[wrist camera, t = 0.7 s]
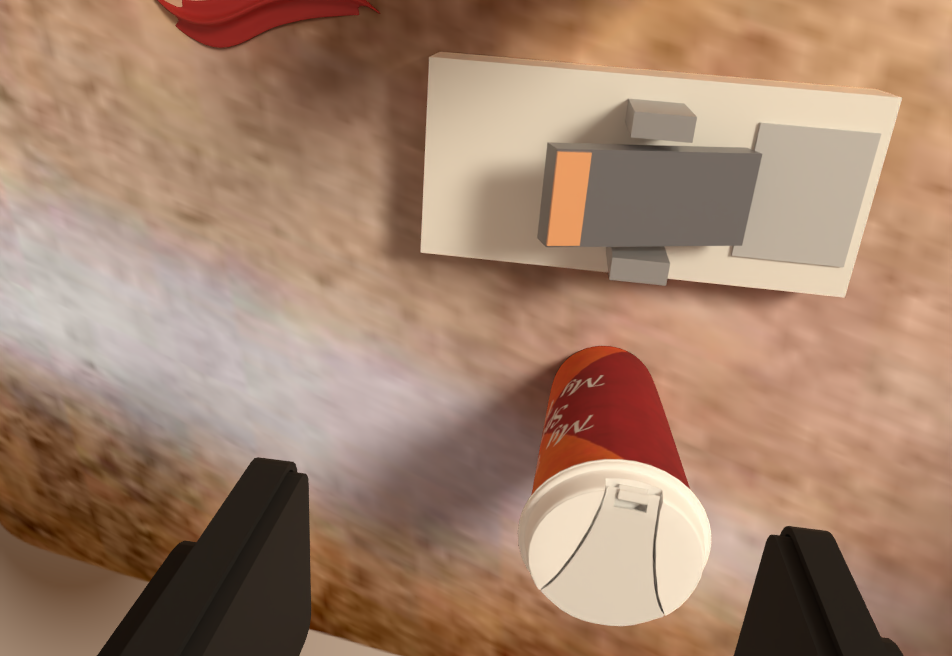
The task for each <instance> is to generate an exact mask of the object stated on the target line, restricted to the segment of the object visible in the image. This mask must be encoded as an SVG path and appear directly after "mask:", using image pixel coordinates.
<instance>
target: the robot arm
mask: <svg viewBox="0 0 952 656" xmlns="http://www.w3.org/2000/svg"><path fill="white" fill-rule="evenodd" d="M310 619H311V583H310V532H309V483H308V476H307V475H306V474H304V473H297V467H296V464H295V463H294V462H289V461H282V460H274V459H266V458H258V457H257V458H254V460H253V461H252V462H251V463H250V465H249V466H248V467H247V469H246V470H245V472H244V473H243V475H242V476H241V478H240V479H239V481H238V482H237V484H236V485H235V487H234V488H233V490H232V491H231V493H230V494H229V495H228V497H227V498H226V500H225V501H224V503H223V504H222V506H221V507H220V509H219V510H218V512H217V513H216V515H215V516H214V518H213V519H212V521H211V522H210V523H209V525H208V526H207V528H206V529H205V531H204V532H203V534H202V535H201V537H200V538H199V540H198V541H197V542H190V541H183V542H181V543H179V544H178V545H177V546H176V547H175V548H174V549H173V550H172V551H171V553H170V554H169V555H168V557H167V558H166V560H165V561H164V562H163V564H162V565H161V567H160V568H159V569H158V571H157V572H156V574H155V575H154V576H153V578H152V579H151V581H150V582H149V583H148V585H147V586H146V588H145V589H144V591H143V592H142V593H141V595H140V596H139V598H138V599H137V600H136V602H135V603H134V605H133V606H132V607H131V609H130V610H129V612H128V613H127V614H126V616H125V617H124V619H123V620H122V621H121V623H120V624H119V626H118V627H117V628H116V630H115V631H114V633H113V634H112V635H111V637H110V638H109V640H108V641H107V642H106V644H105V645H104V647H103V648H102V649H101V651H100V652H99V654H98V655H97V656H299V655H300V652H301V650H302V647H303V645H304V643H305V640H306V637H307V634H308V630H309V626H310ZM734 656H903V654H902V652H901V651H900V649H899V648H898V646H897V645H896V643H894V642H893V641H892V640H890V639H889V638H882V637H881V636H880V634H879V632H878V630H877V628H876V626H875V624H874V622H873V619H872V617H871V615H870V613H869V611H868V609H867V607H866V605H865V602H864V600H863V598H862V596H861V594H860V592H859V590H858V588H857V585H856V583H855V581H854V579H853V577H852V575H851V573H850V571H849V568H848V566H847V564H846V562H845V560H844V558H843V556H842V554H841V551H840V549H839V547H838V545H837V543H836V541H835V539H834V537H833V536H832V534H831V533H830V532H828V531H822V530H815V529H807V528H799V527H791V526H787V527H785V528H784V529H783V530H782V532H781V534H780V536H779V535H770V536H769V537H768V539H767V541H766V544H765V548H764V551H763V555H762V558H761V562H760V565H759V569H758V572H757V576H756V579H755V583H754V586H753V590H752V594H751V597H750V601H749V604H748V608H747V611H746V615H745V618H744V622H743V625H742V629H741V632H740V636H739V639H738V643H737V646H736V650H735V653H734Z"/></svg>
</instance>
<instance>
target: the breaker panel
mask: <svg viewBox="0 0 952 656" xmlns="http://www.w3.org/2000/svg"><path fill="white" fill-rule="evenodd" d="M901 100H902V97H899V96H896V95H893V94H890V93H887V92H884V91H881V90H878V89H871V88H859V87H848V86H836V85H824V84H813V83H801V82H789V81H778V80H766V79H754V78H743V77H731V76H719V75H708V74H696V73H684V72H673V71H661V70H649V69H638V68H626V67H614V66H603V65H591V64H579V63H568V62H556V61H544V60H533V59H521V58H509V57H498V56H486V55H474V54H463V53H451V52H438V53H436V54H434V55H432V56H430V57H429V73H428V96H427V119H426V141H425V164H424V187H423V210H422V232H421V253H430V254H439V255H449V256H458V257H468V258H477V259H487V260H496V261H505V262H515V263H524V264H534V265H543V266H553V267H562V268H572V269H581V270H590V271H600V272H608V274H609V280H617V281H626V282H635V283H645V284H654V285H664V286H666V284H667V279H675V280H685V281H694V282H704V283H713V284H723V285H732V286H741V287H751V288H760V289H770V290H779V291H789V292H798V293H808V294H817V295H826V296H836V297H845V295H846V292H847V288H848V285H849V281H850V278H851V274H852V271H853V267H854V264H855V260H856V257H857V253H858V250H859V246H860V243H861V240H862V236H863V233H864V229H865V226H866V222H867V219H868V215H869V212H870V208H871V205H872V201H873V198H874V194H875V191H876V187H877V184H878V180H879V177H880V173H881V170H882V166H883V163H884V160H885V156H886V153H887V149H888V146H889V142H890V139H891V135H892V132H893V128H894V125H895V121H896V118H897V114H898V111H899V107H900V104H901ZM547 142H553V143H591V144H629V145H666V146H704V147H742V148H749V149H752V150H754V151H757V152H759V153H762V158H761V163H760V167H759V172H758V176H757V181H756V185H755V190H754V194H753V199H752V203H751V208H750V212H749V217H748V221H747V226H746V230H745V235H744V239H743V244H742V246H640V247H545V246H544V245H543V244H542V243H541V242H540V240H539V239H538V238H537V235H538V225H539V216H540V207H541V198H542V188H543V179H544V170H545V161H546V151H547Z"/></svg>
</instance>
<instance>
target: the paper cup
mask: <svg viewBox="0 0 952 656" xmlns="http://www.w3.org/2000/svg"><path fill="white" fill-rule="evenodd" d="M518 546H519V549H520V553H521V557H522V559H523V561H524V563H525V566H526V568H527V569H528V571H529V572H530V574H531V576H532V578H533V581H534V583H535V585H536V586H537V587H538V589H539V590H540V589H541V592H542V593H543V594H544V595H545V596H546V597H547V598H548V599H549V600H550V601H552V602H553V603H554V604H555V605H556V606H557V607H559V608H560V609H561V610H563V611H564V612H566V613H568V614H569V615H571V616H573V617H576V618H578V619H581V620H584V621H588V622H592V623H596V624H602V625H609V626H628V625H636V624H640V623H644V622H648V621H651V620H654V619H657V618H660V617H664V614H665V616H666V615H668V614H670V613H671V612H673V611H674V610H675V609H677V608H678V607H680V606H681V605H682V604H683V603H684V602H685V601H686V600H687V599H688V598H689V596H690V595H691V594H692V592H693V591H694V590H695V588H696V586H697V584H698V582H699V580H700V578H701V575H702V571H703V569H704V567H705V565H706V563H707V560H708V557H709V553H710V549H711V530H710V523H709V520H708V518H707V515H706V512H705V510H704V508H703V506H702V505H701V503H700V501H699V499H698V498H697V497H696V496H695V495H694V493H693V492H692V491H691V490H690V488H689V485H688V482H687V479H686V476H685V472H684V469H683V466H682V463H681V460H680V457H679V454H678V451H677V448H676V445H675V442H674V439H673V436H672V433H671V430H670V427H669V424H668V421H667V418H666V415H665V412H664V409H663V406H662V403H661V401H660V398H659V395H658V392H657V389H656V387H655V384H654V381H653V379H652V377H651V375H650V373H649V371H648V369H647V368H646V367H645V365H644V364H643V363H642V362H641V361H640V360H639V359H638V358H637V357H636V356H634V355H633V354H631V353H629V352H627V351H625V350H623V349H620V348H616V347H611V346H596V347H590V348H586V349H583V350H581V351H579V352H577V353H575V354H573V355H572V356H571V357H569V358H568V359H567V360H566V361H565V362H564V363H563V364H562V365H561V367H560V368H559V370H558V371H557V373H556V375H555V378H554V381H553V384H552V388H551V392H550V397H549V402H548V407H547V412H546V417H545V423H544V428H543V434H542V439H541V445H540V450H539V456H538V462H537V467H536V473H535V479H534V484H533V490H532V495H531V497H530V498H529V499H528V501H527V503H526V505H525V507H524V508H523V511H522V514H521V517H520V520H519V527H518Z"/></svg>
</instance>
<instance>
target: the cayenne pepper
mask: <svg viewBox="0 0 952 656" xmlns="http://www.w3.org/2000/svg"><path fill="white" fill-rule="evenodd" d="M157 1H158V2H159V3H160V4H161V5H162V6H164V7H165V8H166V9H167V10H168V11H169V12H171V13H172V14H173V15H175V16H176V17H177V18H178V20H179V22H178V23H177V24H176V27H177V28H178V29H179V30H181V31H182V32H183V33H185V34H186V35H188V36H189V37H191V38H193V39H195V40H196V41H198V42H200V43H203V44H205V45H208V46H212V47H219V48H223V47H230V46H234V45H238V44H240V43H243V42H245V41H247V40H249V39H251V38H253V37H255V36H257V35H258V34H260V33H262V32H265V31H267V30H269V29H271V28H274V27H277V26H280V25H283V24H287V23H291V22H296V21H300V20H305V19H311V18H319V17H331V16H345V15H359V10H358V8H359V6H367V7H369V8H371V9H373V10H374V11H376V12H378V13H379V11H378V10H377V9H375V8H374V7H373V6H372V5H371V4H370V3H369V2H367V1H366V0H206V1H191V0H182V5H183V7H176V6H174V5H172V4H170V3H168V2H166V1H164V0H157ZM379 14H380V13H379Z"/></svg>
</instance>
